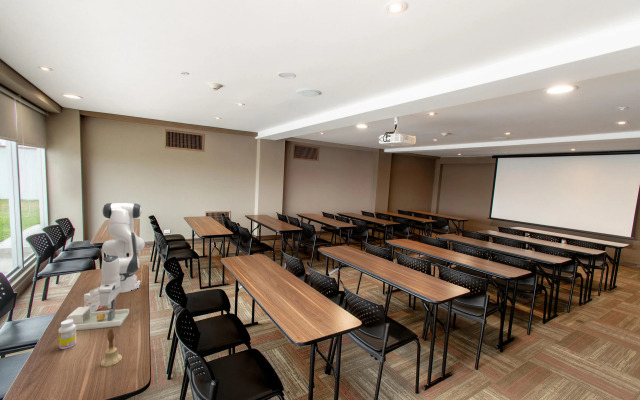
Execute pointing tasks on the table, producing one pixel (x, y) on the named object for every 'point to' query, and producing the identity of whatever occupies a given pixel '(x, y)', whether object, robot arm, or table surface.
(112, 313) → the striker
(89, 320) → the tray
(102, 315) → the ball
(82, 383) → the table surface
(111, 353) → the hand bell
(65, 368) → the table surface
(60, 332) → the supplement bottle
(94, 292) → the ink cartridge box
